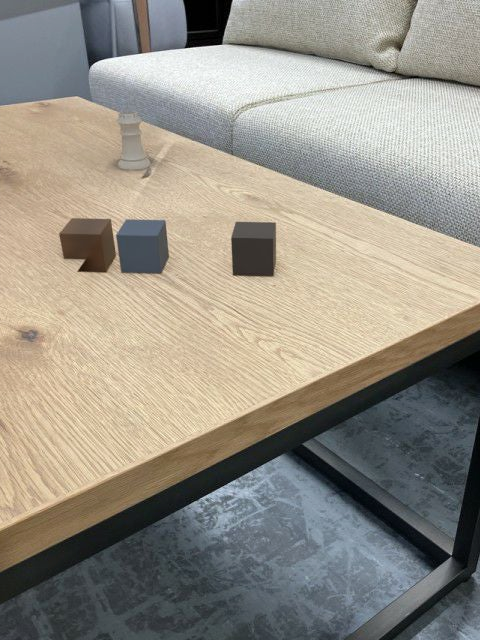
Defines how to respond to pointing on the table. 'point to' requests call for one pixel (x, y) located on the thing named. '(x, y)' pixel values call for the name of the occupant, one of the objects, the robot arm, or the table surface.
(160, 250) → the block
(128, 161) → the rook chess piece
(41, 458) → the table surface
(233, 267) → the block
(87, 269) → the block
